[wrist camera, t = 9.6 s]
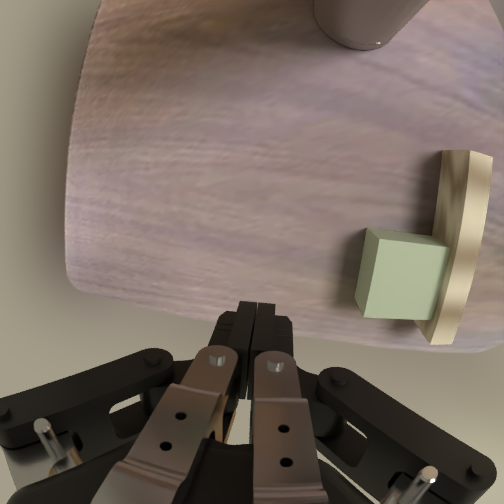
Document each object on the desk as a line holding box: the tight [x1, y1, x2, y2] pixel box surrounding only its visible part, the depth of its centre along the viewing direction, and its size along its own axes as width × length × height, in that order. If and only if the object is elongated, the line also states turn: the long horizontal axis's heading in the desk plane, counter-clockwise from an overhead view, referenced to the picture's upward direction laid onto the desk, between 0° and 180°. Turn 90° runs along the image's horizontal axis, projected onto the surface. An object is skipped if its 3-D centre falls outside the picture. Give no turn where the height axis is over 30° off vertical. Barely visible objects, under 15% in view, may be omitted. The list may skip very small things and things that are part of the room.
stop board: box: [413, 150, 493, 345], centre depth 28 cm, size 20×3×6 cm, turn 176°
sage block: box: [354, 228, 450, 320], centre depth 31 cm, size 8×8×5 cm
